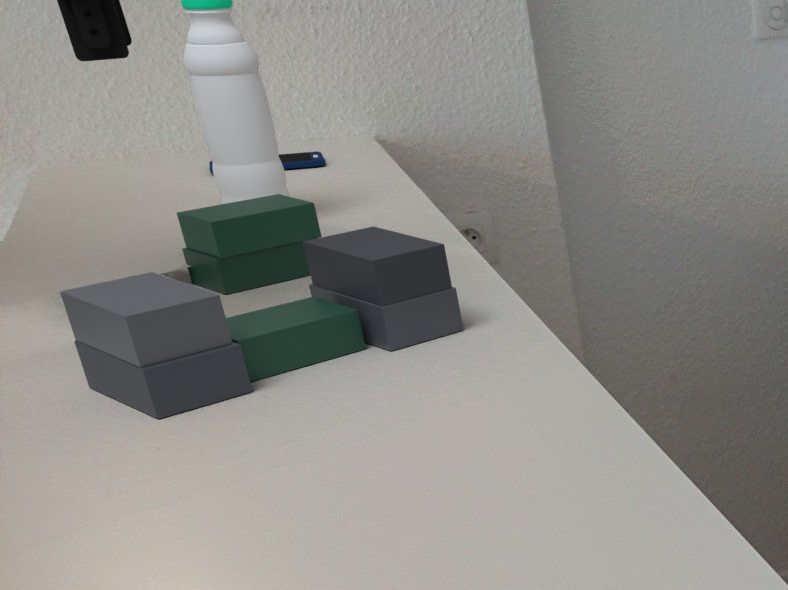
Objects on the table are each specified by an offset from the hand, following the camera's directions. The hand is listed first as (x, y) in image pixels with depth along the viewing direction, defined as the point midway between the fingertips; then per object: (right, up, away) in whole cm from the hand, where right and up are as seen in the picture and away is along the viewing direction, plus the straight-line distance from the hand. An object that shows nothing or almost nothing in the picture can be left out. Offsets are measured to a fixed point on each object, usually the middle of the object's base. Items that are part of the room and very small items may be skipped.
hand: (106, 52), depth 93 cm
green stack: (-7, -10, +33) cm, 35 cm away
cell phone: (-32, +15, +80) cm, 88 cm away
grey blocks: (+7, -20, +12) cm, 25 cm away
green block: (+7, -21, +12) cm, 25 cm away
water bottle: (-16, 0, +51) cm, 53 cm away
